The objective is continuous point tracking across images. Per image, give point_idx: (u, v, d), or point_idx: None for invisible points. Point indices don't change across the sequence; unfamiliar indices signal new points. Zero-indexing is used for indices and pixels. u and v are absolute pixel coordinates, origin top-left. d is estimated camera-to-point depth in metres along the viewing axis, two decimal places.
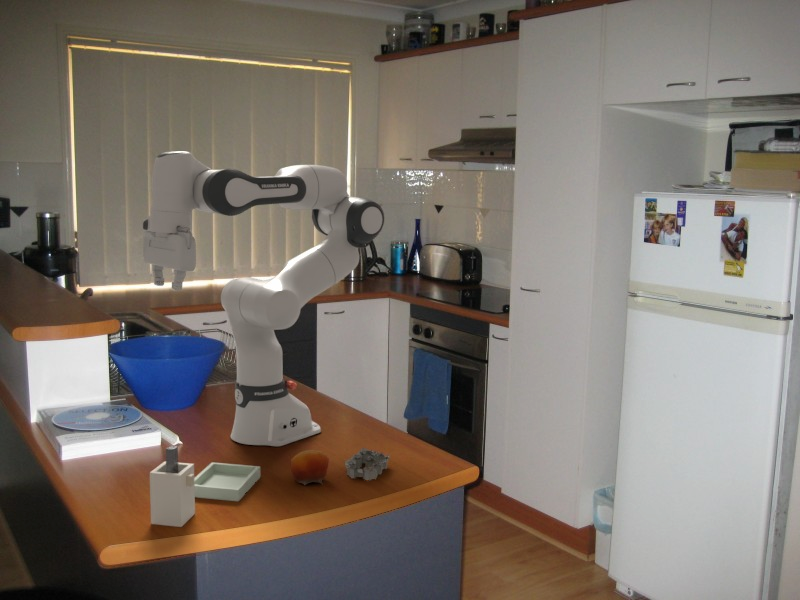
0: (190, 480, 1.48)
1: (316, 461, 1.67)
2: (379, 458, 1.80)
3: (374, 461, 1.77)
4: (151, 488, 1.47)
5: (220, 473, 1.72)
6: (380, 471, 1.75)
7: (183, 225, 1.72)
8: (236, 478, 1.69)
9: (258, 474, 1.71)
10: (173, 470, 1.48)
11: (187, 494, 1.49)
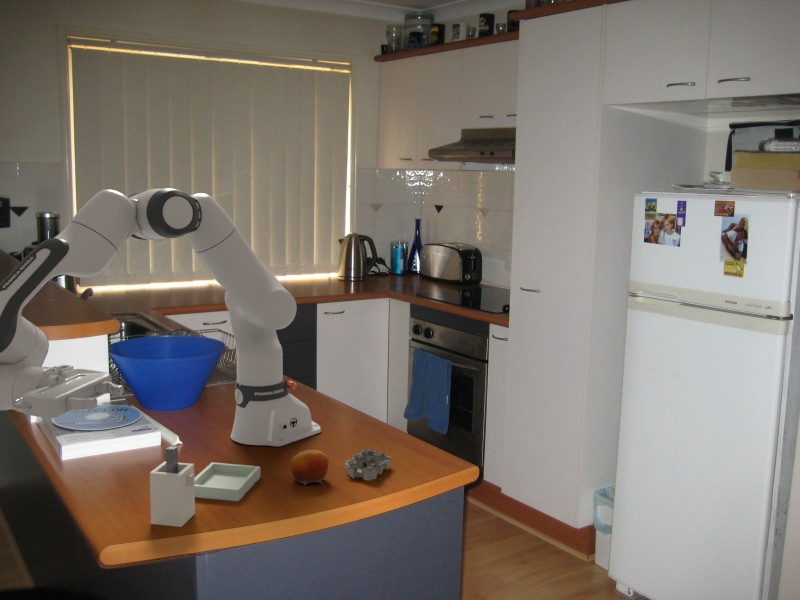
0: (190, 480, 1.48)
1: (316, 461, 1.67)
2: (381, 458, 1.80)
3: (375, 461, 1.77)
4: (151, 488, 1.47)
5: (220, 473, 1.72)
6: (380, 471, 1.75)
7: (26, 391, 1.47)
8: (236, 478, 1.69)
9: (258, 474, 1.71)
10: (173, 470, 1.48)
11: (187, 494, 1.49)
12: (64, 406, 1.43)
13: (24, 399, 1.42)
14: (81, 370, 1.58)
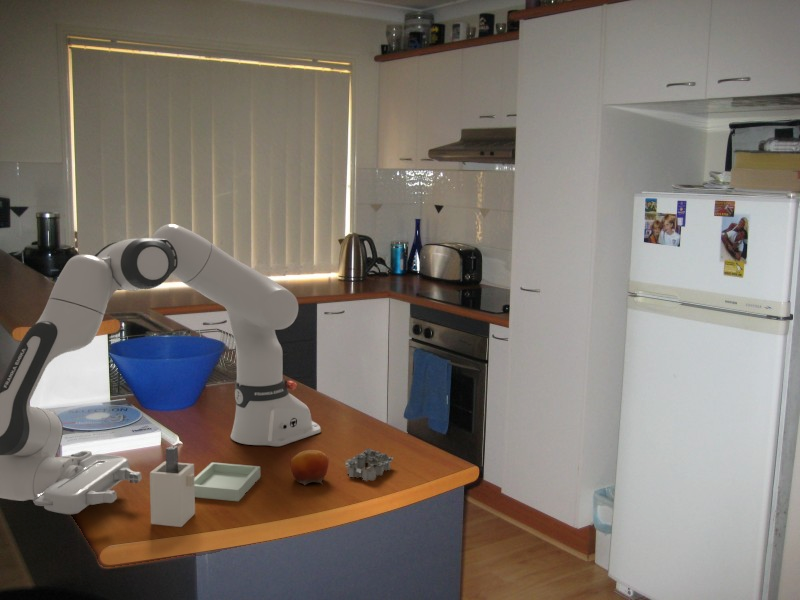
0: (190, 480, 1.48)
1: (316, 461, 1.67)
2: (383, 459, 1.80)
3: (376, 462, 1.77)
4: (151, 488, 1.47)
5: (220, 473, 1.72)
6: (381, 472, 1.75)
7: (46, 484, 1.50)
8: (236, 478, 1.69)
9: (258, 474, 1.71)
10: (173, 470, 1.48)
11: (187, 494, 1.49)
12: (84, 501, 1.46)
13: (45, 496, 1.44)
14: (99, 456, 1.61)
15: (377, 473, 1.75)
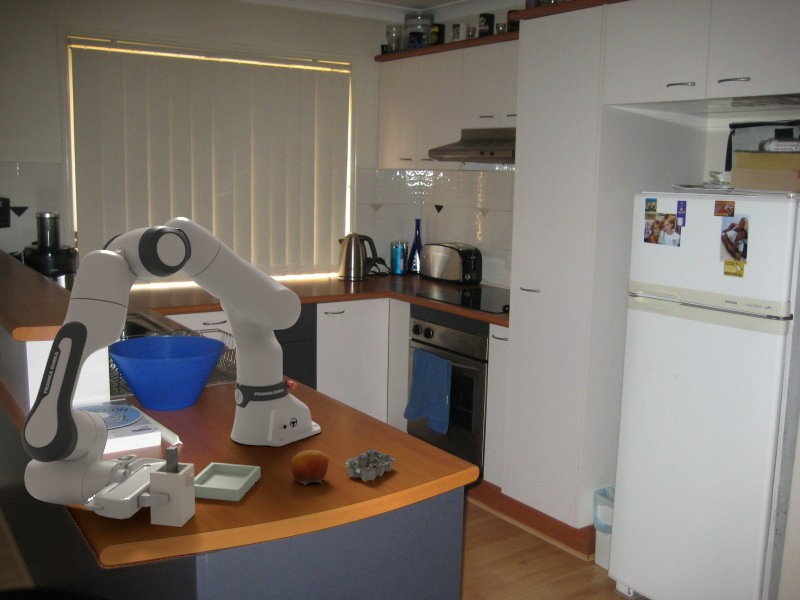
0: (190, 480, 1.48)
1: (316, 461, 1.67)
2: (385, 460, 1.79)
3: (377, 462, 1.77)
4: (151, 488, 1.47)
5: (220, 473, 1.72)
6: (381, 473, 1.74)
7: (95, 488, 1.48)
8: (236, 478, 1.69)
9: (258, 474, 1.71)
10: (173, 470, 1.48)
11: (187, 494, 1.49)
12: (135, 505, 1.44)
13: (96, 500, 1.42)
14: (145, 459, 1.59)
15: (377, 474, 1.74)
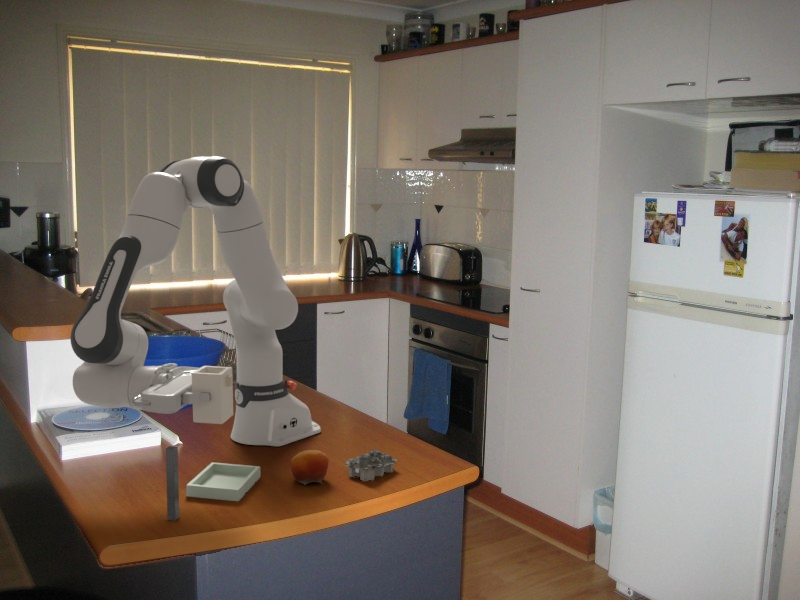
0: (229, 381, 1.57)
1: (316, 461, 1.67)
2: (387, 461, 1.79)
3: (378, 463, 1.76)
4: (193, 388, 1.56)
5: (220, 473, 1.72)
6: (381, 473, 1.74)
7: (140, 389, 1.57)
8: (236, 478, 1.69)
9: (258, 474, 1.71)
10: (173, 470, 1.48)
11: (226, 394, 1.59)
12: (180, 402, 1.53)
13: (143, 397, 1.52)
14: (185, 367, 1.68)
15: (377, 474, 1.74)
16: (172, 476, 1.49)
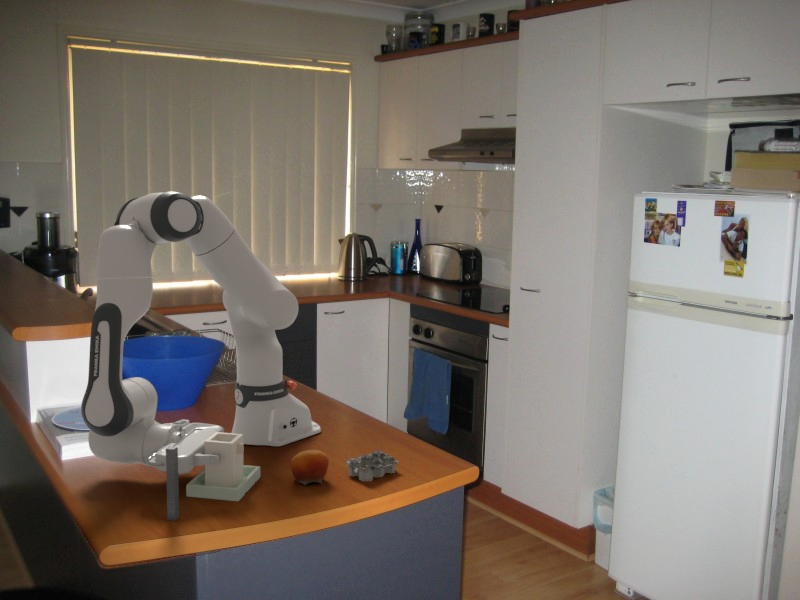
0: (240, 448, 1.64)
1: (316, 461, 1.67)
2: (390, 462, 1.78)
3: (380, 464, 1.76)
4: None
5: None
6: (380, 474, 1.73)
7: (155, 447, 1.63)
8: None
9: (258, 474, 1.71)
10: (173, 470, 1.48)
11: (237, 461, 1.65)
12: (192, 462, 1.59)
13: (157, 457, 1.58)
14: (197, 424, 1.74)
15: (377, 475, 1.73)
16: (172, 476, 1.49)
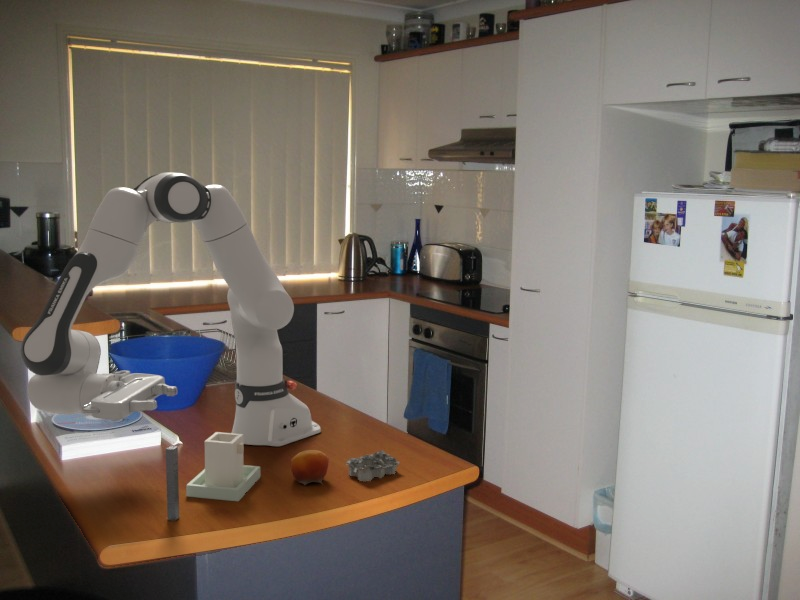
0: (240, 448, 1.64)
1: (316, 461, 1.67)
2: (391, 463, 1.78)
3: (380, 464, 1.76)
4: (206, 455, 1.63)
5: None
6: (380, 475, 1.73)
7: (92, 396, 1.64)
8: None
9: (258, 474, 1.71)
10: (173, 470, 1.48)
11: (237, 461, 1.65)
12: (128, 408, 1.60)
13: (92, 404, 1.58)
14: (137, 374, 1.75)
15: (377, 475, 1.73)
16: (172, 476, 1.49)
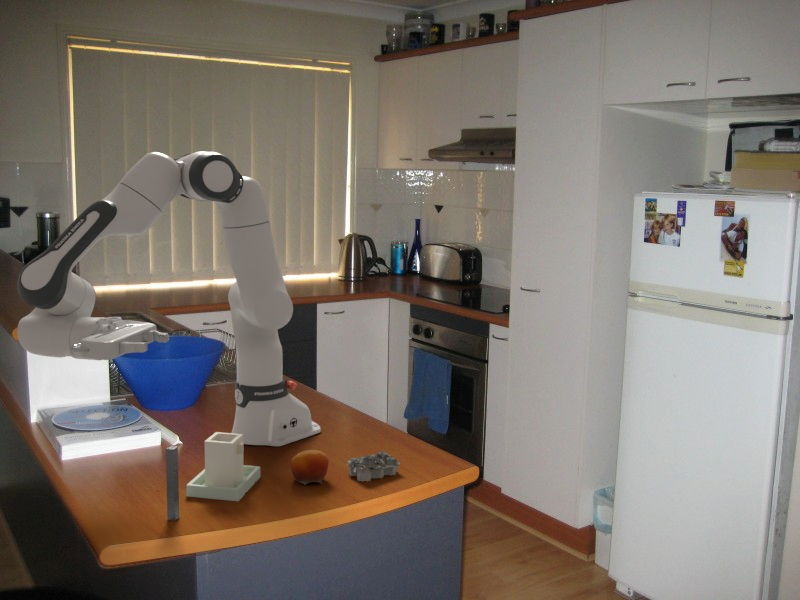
0: (240, 448, 1.64)
1: (316, 461, 1.67)
2: (392, 464, 1.77)
3: (381, 465, 1.75)
4: (206, 455, 1.63)
5: None
6: (379, 475, 1.73)
7: (82, 337, 1.61)
8: None
9: (258, 474, 1.71)
10: (173, 470, 1.48)
11: (237, 461, 1.65)
12: (118, 349, 1.57)
13: (82, 343, 1.56)
14: (129, 321, 1.72)
15: (376, 476, 1.73)
16: (172, 476, 1.49)
